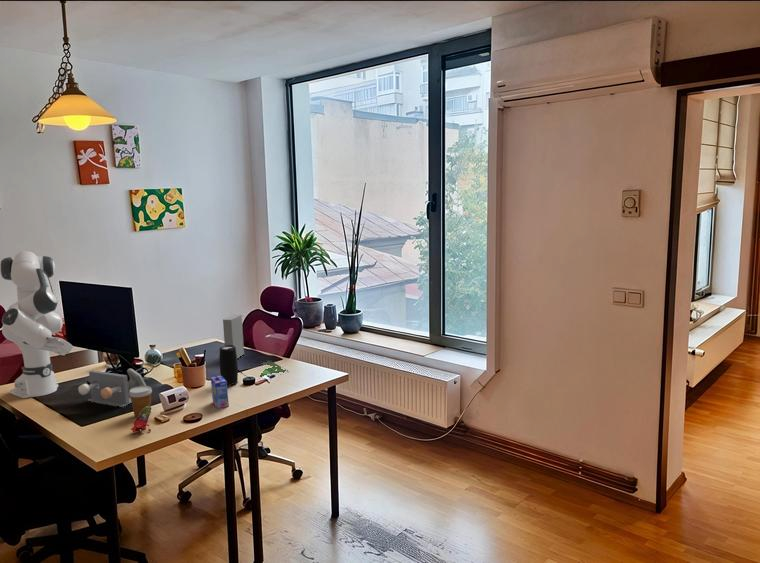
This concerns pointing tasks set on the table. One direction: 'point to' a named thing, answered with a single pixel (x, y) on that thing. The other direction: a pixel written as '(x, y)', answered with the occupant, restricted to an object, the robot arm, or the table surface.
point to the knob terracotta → (109, 391)
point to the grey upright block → (234, 333)
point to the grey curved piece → (134, 379)
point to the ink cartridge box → (219, 391)
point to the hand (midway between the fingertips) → (63, 353)
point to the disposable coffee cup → (140, 398)
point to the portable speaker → (228, 364)
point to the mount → (110, 381)
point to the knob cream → (87, 388)
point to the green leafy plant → (271, 370)
